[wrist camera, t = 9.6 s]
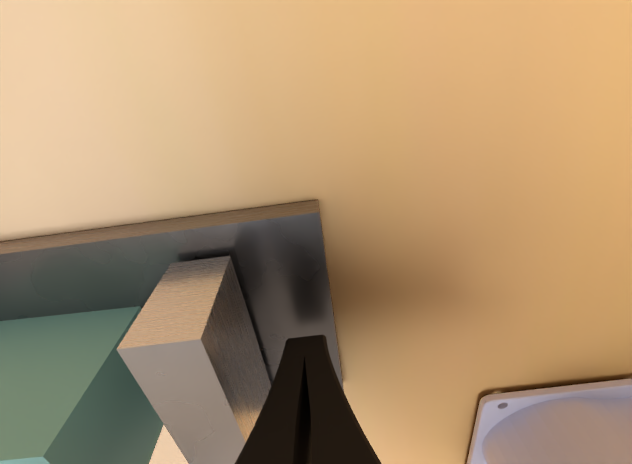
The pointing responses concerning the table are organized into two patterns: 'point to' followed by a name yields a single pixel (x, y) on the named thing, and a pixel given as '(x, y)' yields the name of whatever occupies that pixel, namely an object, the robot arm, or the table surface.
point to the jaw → (199, 359)
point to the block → (72, 392)
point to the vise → (179, 246)
